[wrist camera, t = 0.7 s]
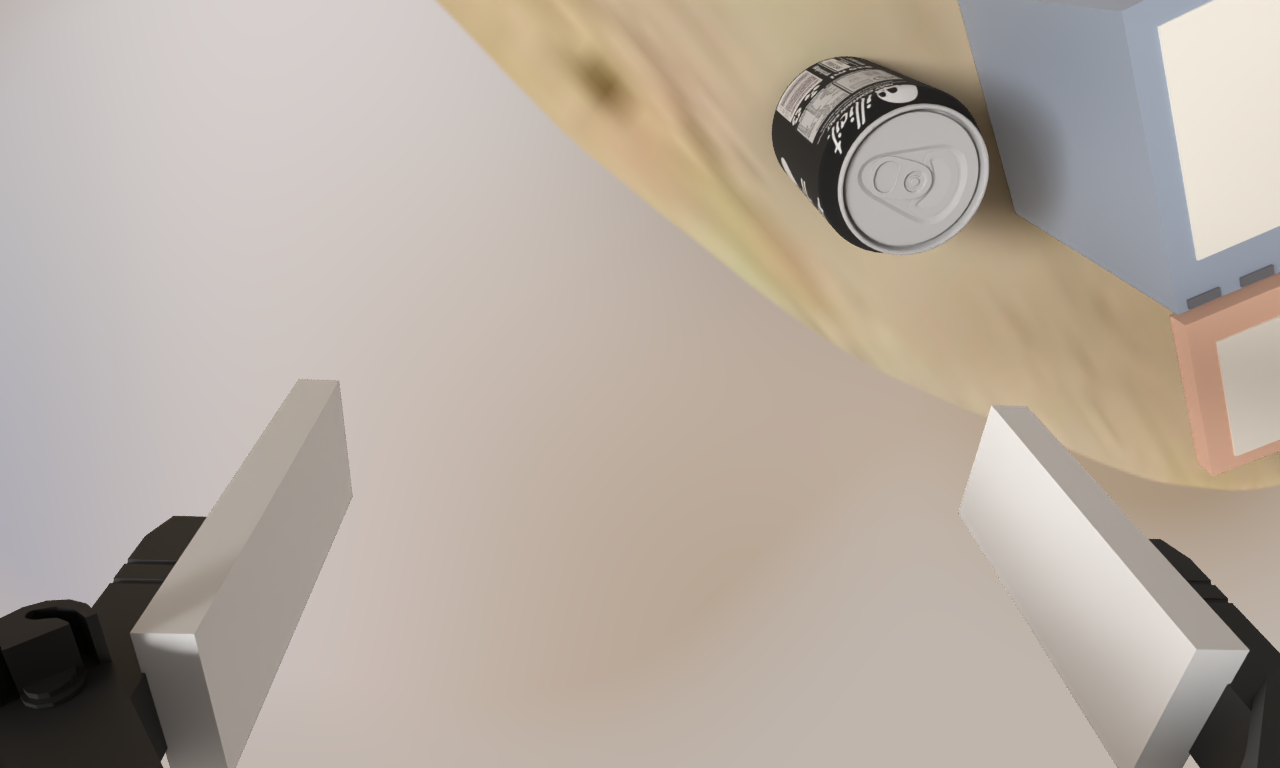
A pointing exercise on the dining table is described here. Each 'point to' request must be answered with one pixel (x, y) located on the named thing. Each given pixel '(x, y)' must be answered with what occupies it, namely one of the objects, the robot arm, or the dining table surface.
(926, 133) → the beverage can
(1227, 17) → the block
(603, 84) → the dining table surface
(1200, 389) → the stub
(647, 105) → the dining table surface
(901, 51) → the dining table surface
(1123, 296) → the dining table surface
